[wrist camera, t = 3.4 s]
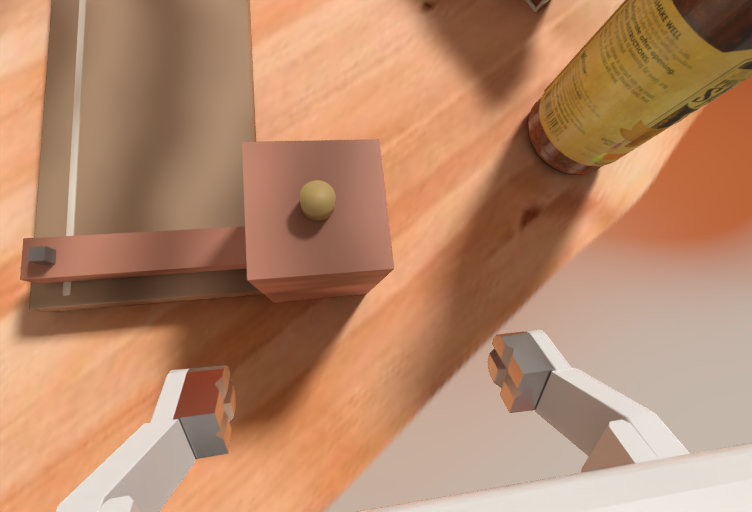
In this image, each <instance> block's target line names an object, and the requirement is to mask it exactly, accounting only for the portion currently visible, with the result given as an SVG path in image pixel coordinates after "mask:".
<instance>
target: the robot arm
mask: <svg viewBox="0 0 752 512" xmlns="http://www.w3.org/2000/svg"><path fill="white" fill-rule="evenodd" d="M492 344H493V346H494V348H495V349H494V350H493V351H492V352H490V354H489V358H488V369H489V372H490V376H491V378H492V380H493V382H494V383H495V384H496V385H498V386H499V387H501V388H502V389H501V393H500V396H501V397H502V399H503V401H504V403H505V405H506V407H507V409H508V411H509V413H514V412H523V411H532V410H536V412H537V413H538V414H539V415H540V416H541V417H542V418H544V419H545V420H546V421H547V422H548V423H550V424H551V425H552V426H553V427H554V428H556V429H557V430H558V431H559V432H560V433H562V434H563V435H564V436H565V437H566V438H568V439H569V440H570V441H571V442H572V443H574V444H575V445H576V446H577V447H578V448H579V449H581V450H582V451H583V452H584V453H585V454H587V455H588V456H589V457H588V459H587V461H586V462H585V464H584V466H583V467H582V470H581V473H577V474H571V475H565V476H559V477H553V478H548V479H542V480H536V481H531V482H525V483H519V484H513V485H508V486H502V487H497V488H490V489H485V490H480V491H473V492H467V493H462V494H456V495H450V496H444V497H439V498H433V499H427V500H421V501H416V502H410V503H404V504H398V505H393V506H387V507H381V508H376V509H370V510H364V511H358V512H752V443H748V444H743V445H737V446H731V447H725V448H720V449H714V450H709V451H703V452H697V453H692V454H690V453H689V452H688V451H687V450H686V448H685V447H684V446H683V445H682V444H681V442H680V441H679V440H678V439H677V438H676V437H675V435H674V434H673V433H672V432H671V431H670V430H669V429H668V428H667V426H666V425H665V424H664V423H663V422H662V421H661V419H660V418H659V417H658V416H657V415H656V414H655V413H654V412H652V411H650V410H648V409H647V408H645V407H643V406H642V405H640V404H638V403H636V402H635V401H633V400H631V399H629V398H628V397H626V396H624V395H622V394H621V393H619V392H617V391H615V390H614V389H612V388H610V387H608V386H607V385H605V384H603V383H602V382H600V381H598V380H596V379H595V378H593V377H591V376H589V375H587V374H586V373H584V372H583V371H581V370H579V369H577V368H571V366H570V365H569V364H568V362H567V361H566V360H565V358H564V357H563V356H562V354H561V353H560V352H559V350H558V349H557V348H556V347H555V345H554V344H553V343H552V341H551V340H550V338H549V337H548V336H547V335H546V333H545V332H544V331H542V330H534V331H526V332H516V333H508V334H499V335H496V336H495V337H494V339H493V342H492ZM229 379H230V370H229V367H228V365H221V366H210V367H198V368H189V369H178V370H171V371H170V372H169V373H168V374H167V376H166V379H165V382H164V385H163V387H162V390H161V393H160V396H159V399H158V401H157V404H156V407H155V410H154V413H153V416H152V418H151V421H150V423H144V424H143V425H142V426H141V427H140V428H139V429H138V430H137V431H136V432H135V433H134V434H133V435H131V436H130V437H129V438H128V439H127V440H126V441H125V442H124V443H123V444H122V445H121V446H120V447H119V448H118V449H117V450H116V451H115V452H114V453H113V454H112V455H110V456H109V457H108V458H107V459H106V460H105V461H104V462H103V463H102V464H101V465H100V466H99V467H98V468H97V469H96V470H95V471H94V472H93V473H92V474H90V475H89V476H88V477H87V478H86V479H85V480H84V481H83V482H82V483H81V484H80V485H79V486H78V487H77V488H76V489H75V490H74V491H73V492H72V493H71V494H69V495H68V496H67V497H66V498H65V499H64V500H63V501H62V502H61V503H60V504H59V506H58V508H57V510H56V512H160V510H161V509H162V507H163V506H164V505H165V503H166V502H167V501H168V499H169V498H170V496H171V495H172V494H173V492H174V491H175V490H176V488H177V487H178V485H179V484H180V483H181V481H182V480H183V478H184V477H185V476H186V474H187V473H188V472H189V470H190V469H191V467H192V466H193V465H194V463H195V462H196V459H199V458H205V457H210V456H216V455H222V454H228V453H229V447H230V441H231V434H232V429H231V426H230V421H231V420H232V419H233V417H234V415H235V407H236V395H235V388H234V384H233V383H232V382H230V381H229Z"/></svg>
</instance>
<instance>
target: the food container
mask: <svg viewBox="0 0 752 512" xmlns="http://www.w3.org/2000/svg"><path fill="white" fill-rule="evenodd" d="M525 1H526V2H527V4H528V5H529V6H530V7H531V9H532V10H533V11H534V12H535V13H536V12H538V11H539V10H541V9H542V8H544V7H545V6H546V5H547V4H548V3H549V2H550V0H525Z"/></svg>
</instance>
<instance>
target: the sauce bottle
mask: <svg viewBox="0 0 752 512" xmlns="http://www.w3.org/2000/svg"><path fill="white" fill-rule="evenodd" d="M751 75H752V0H625V1H624V2H623V3H622V4H621V5H620V7H619V8H618V9H617V10H616V11H615V12H614V13H613V14H612V16H611V17H610V18H609V19H608V20H607V21H606V22H605V23H604V25H603V26H602V27H601V28H600V29H599V30H598V31H597V32H596V33H595V35H594V36H593V37H592V38H591V39H590V40H589V41H588V42H587V44H586V45H585V46H584V47H583V48H582V49H581V50H580V51H579V52H578V54H577V55H576V56H575V57H574V58H573V59H572V60H571V61H570V63H569V64H568V65H567V66H566V67H565V68H564V69H563V70H562V72H561V73H560V74H559V75H558V76H557V77H556V78H555V79H554V80H553V82H552V83H551V84H550V85H549V86H548V87H547V88H546V89H545V91H544V94H543V95H542V97H541V98H540V99H539V101H538V102H536V103H535V104H534V106H533V107H532V109H531V113H530V115H529V119H528V128H529V138H530V140H531V142H532V145H533V147H534V149H535V150H536V153H537V154H538V155H539V156H540V157H541V158H542V159H543V160H544V161H545V162H546V163H548V164H549V165H551V166H552V167H553V168H555V169H557V170H559V171H561V172H564V173H567V174H586V173H589V172H591V171H593V170H596V169H598V168H600V167H602V166H604V165H607V164H610V163H612V162H614V161H616V160H618V159H619V158H621V157H622V156H624V155H626V154H627V153H629V152H630V151H632V150H634V149H635V148H637V147H638V146H640V145H642V144H643V143H645V142H646V141H648V140H650V139H651V138H653V137H654V136H656V135H657V134H659V133H661V132H662V131H664V130H665V129H667V128H669V127H670V126H672V125H673V124H675V123H677V122H679V121H681V120H682V119H684V118H685V117H687V116H688V115H689V114H691V113H692V112H694V111H696V110H698V109H699V108H700V107H702V106H704V105H706V104H707V103H709V102H710V101H712V100H714V99H716V98H717V97H719V96H720V95H722V94H723V93H725V92H727V91H729V90H730V89H732V88H733V87H735V86H736V85H738V84H739V83H740V82H742V81H743V80H745V79H746V78H748V77H750V76H751Z"/></svg>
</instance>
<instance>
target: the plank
mask: <svg viewBox="0 0 752 512" xmlns="http://www.w3.org/2000/svg"><path fill="white" fill-rule="evenodd" d="M242 142H256V129H255V107H254V85H253V64H252V42H251V20H250V0H52V7H51V20H50V34H49V48H48V61H47V75H46V88H45V102H44V116H43V129H42V143H41V156H40V170H39V184H38V197H37V211H36V224H35V238H43V237H61V236H79V235H97V234H115V233H133V232H151V231H169V230H188V229H206V228H224V227H242V226H245V209H244V183H243V156H242ZM258 294H263V293H261V292H260V291H259V290H258V289H257V288H256V287H254V286H253V285H252V284H251V283H250V282H249V281H247V269H235V270H221V271H208V272H194V273H180V274H167V275H153V276H139V277H126V278H112V279H98V280H84V281H71V282H57V283H43V284H39V283H34V282H31V293H30V306H29V310H38V311H48V312H56V311H68V310H80V309H92V308H104V307H115V306H127V305H139V304H151V303H163V302H175V301H187V300H199V299H211V298H222V297H234V296H246V295H258Z"/></svg>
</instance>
